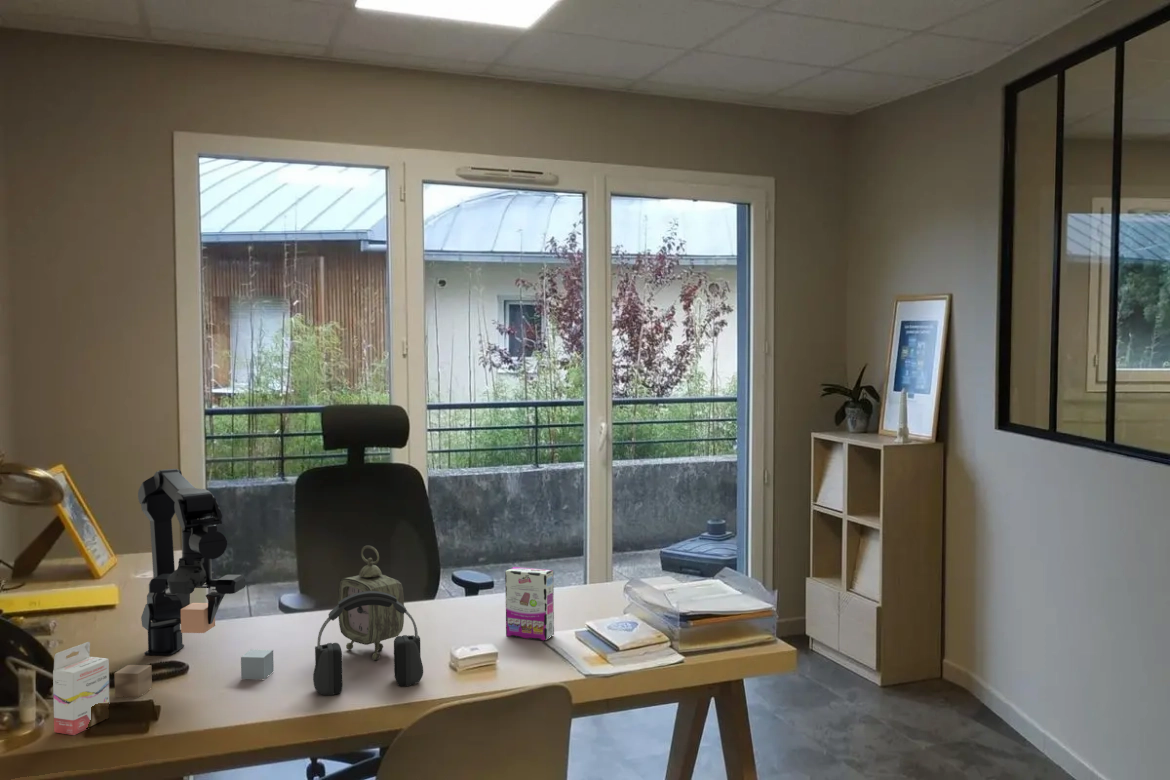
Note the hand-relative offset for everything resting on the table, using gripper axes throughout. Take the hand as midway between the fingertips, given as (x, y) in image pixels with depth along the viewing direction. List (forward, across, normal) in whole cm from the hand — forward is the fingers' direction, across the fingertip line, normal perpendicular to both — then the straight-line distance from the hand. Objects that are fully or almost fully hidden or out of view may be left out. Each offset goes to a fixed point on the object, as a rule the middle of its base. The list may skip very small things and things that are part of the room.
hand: (198, 623), depth 196 cm
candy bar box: (+12, +67, +33) cm, 76 cm away
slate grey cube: (+12, +12, +2) cm, 17 cm away
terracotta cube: (+1, 0, 0) cm, 1 cm away
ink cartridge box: (+12, -10, -25) cm, 30 cm away
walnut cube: (+12, -10, -8) cm, 18 cm away
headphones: (+12, +38, -2) cm, 40 cm away
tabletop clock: (+12, +32, +19) cm, 39 cm away
